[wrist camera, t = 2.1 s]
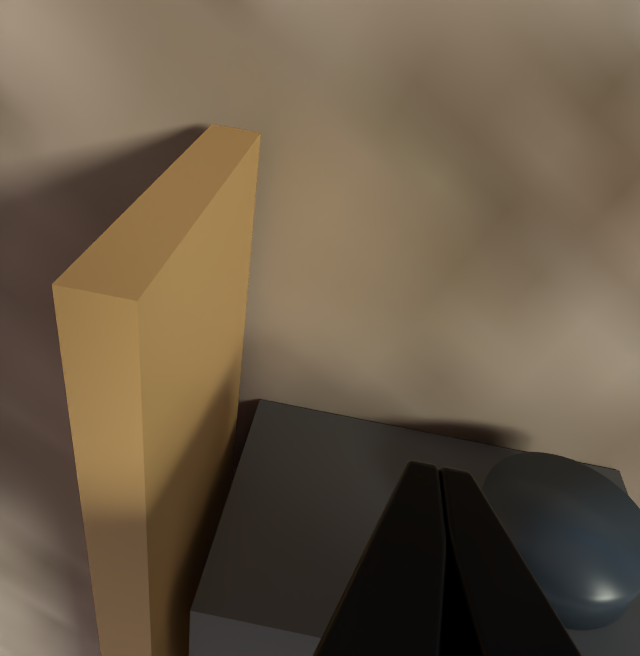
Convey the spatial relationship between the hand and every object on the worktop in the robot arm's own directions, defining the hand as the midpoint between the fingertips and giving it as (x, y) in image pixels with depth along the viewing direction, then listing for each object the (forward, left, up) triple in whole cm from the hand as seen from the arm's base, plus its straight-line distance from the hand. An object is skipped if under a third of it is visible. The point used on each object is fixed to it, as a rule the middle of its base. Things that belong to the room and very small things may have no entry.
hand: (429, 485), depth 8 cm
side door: (-6, +4, -4) cm, 8 cm away
